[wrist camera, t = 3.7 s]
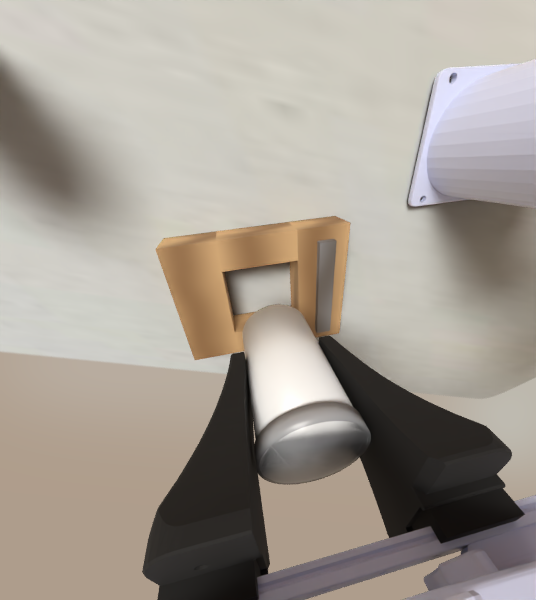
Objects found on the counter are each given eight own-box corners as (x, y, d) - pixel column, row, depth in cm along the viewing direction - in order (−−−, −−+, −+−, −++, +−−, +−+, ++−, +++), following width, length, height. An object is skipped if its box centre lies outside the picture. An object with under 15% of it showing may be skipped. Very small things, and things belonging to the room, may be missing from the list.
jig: (335, 216, 18) (353, 224, 15) (328, 317, 23) (341, 336, 21) (163, 238, 17) (153, 251, 14) (197, 341, 22) (194, 364, 19)
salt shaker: (306, 296, 13) (378, 406, 7) (309, 349, 15) (364, 466, 9) (234, 311, 13) (246, 439, 7) (247, 363, 15) (264, 494, 9)
